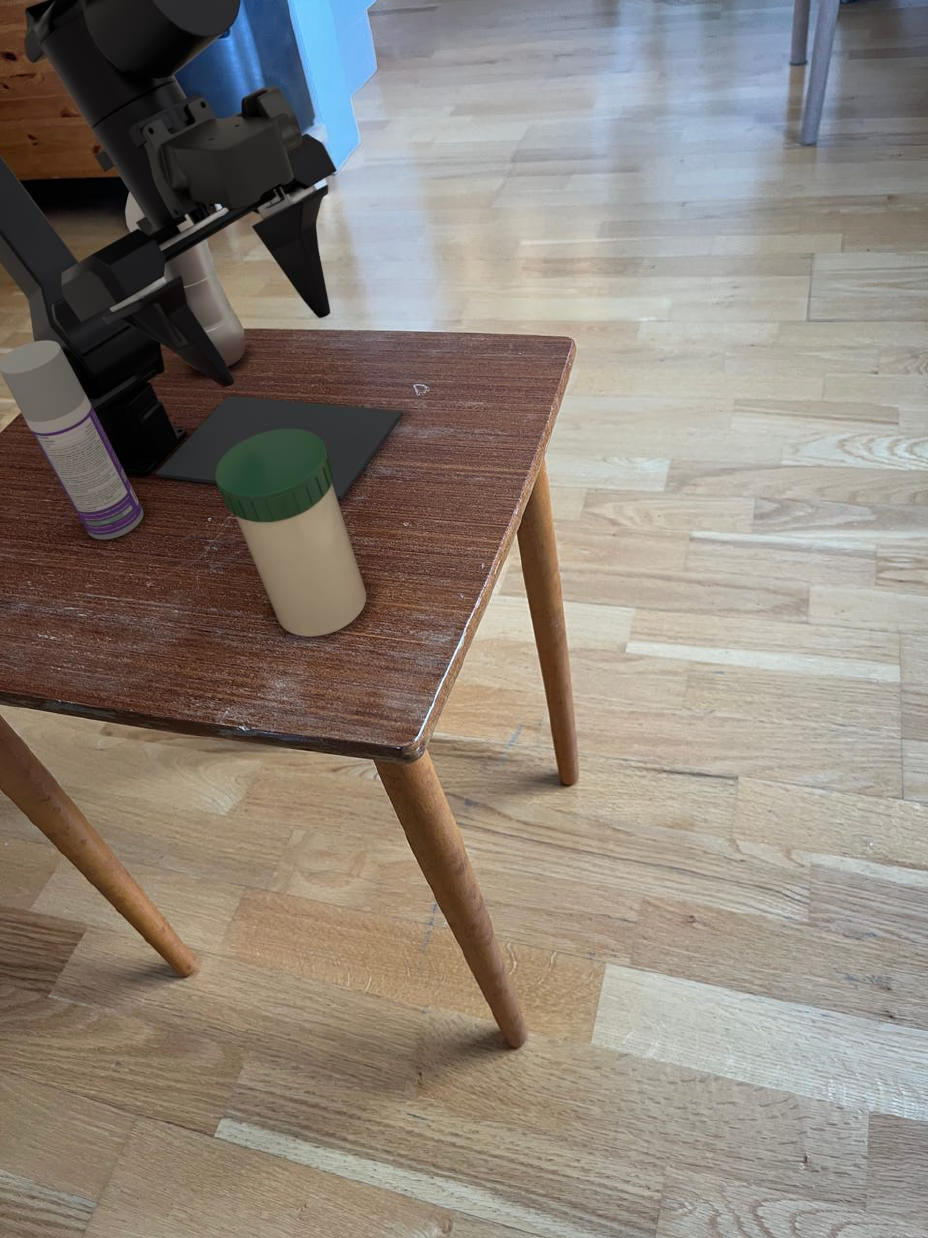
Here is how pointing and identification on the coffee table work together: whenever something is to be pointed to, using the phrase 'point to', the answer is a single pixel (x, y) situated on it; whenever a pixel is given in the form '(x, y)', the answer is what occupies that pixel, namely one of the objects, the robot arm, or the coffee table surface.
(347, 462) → the mat
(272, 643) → the coffee table surface
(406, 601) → the coffee table surface
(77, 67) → the robot arm
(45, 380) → the container
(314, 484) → the jar lid
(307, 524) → the jar
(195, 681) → the coffee table surface
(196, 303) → the silver metal bottle
